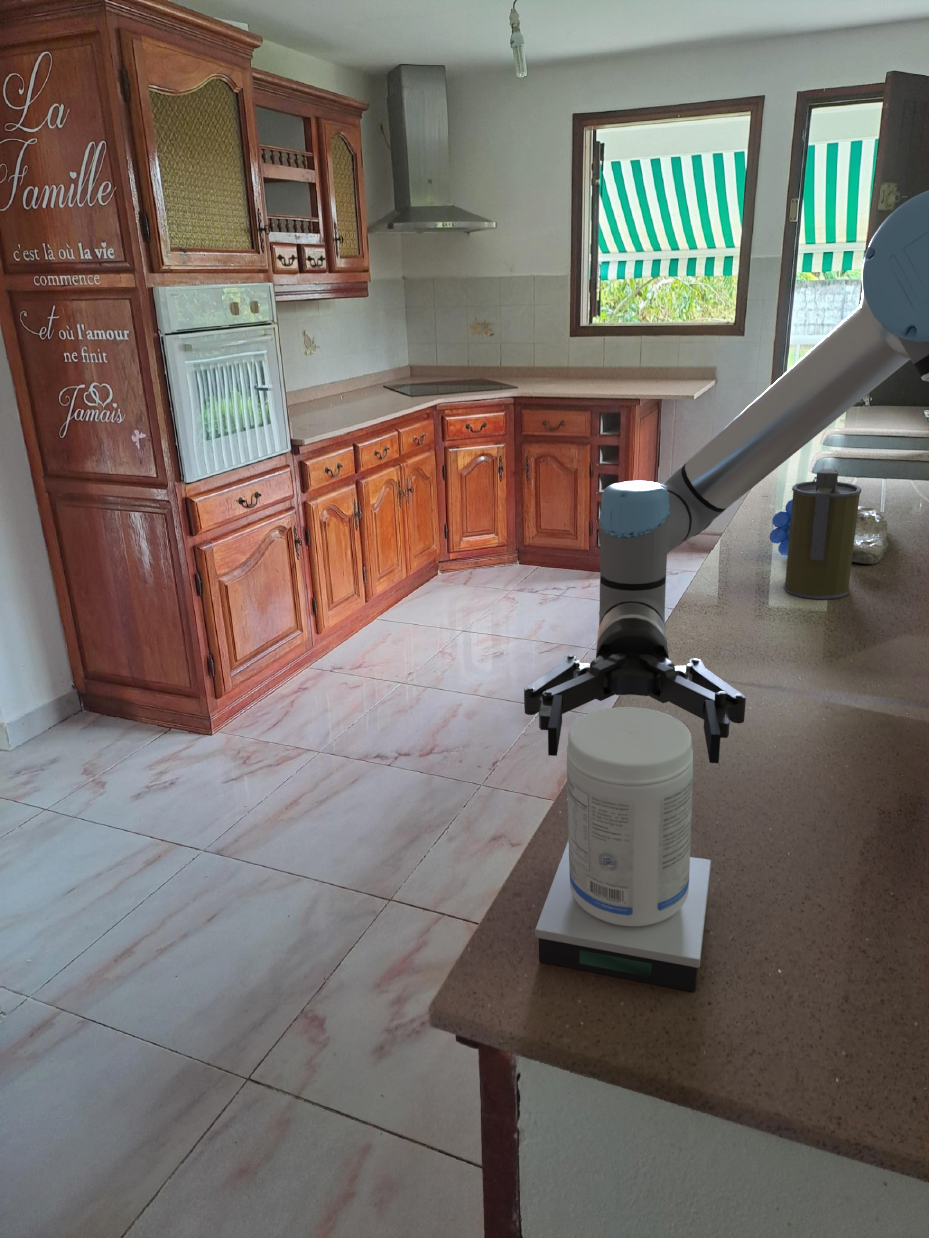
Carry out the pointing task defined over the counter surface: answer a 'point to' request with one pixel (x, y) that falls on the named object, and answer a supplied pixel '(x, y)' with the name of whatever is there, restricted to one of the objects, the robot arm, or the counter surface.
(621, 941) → the kitchen scale
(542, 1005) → the counter surface
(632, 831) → the supplement tub
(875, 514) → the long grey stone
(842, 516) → the canister
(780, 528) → the grapes
